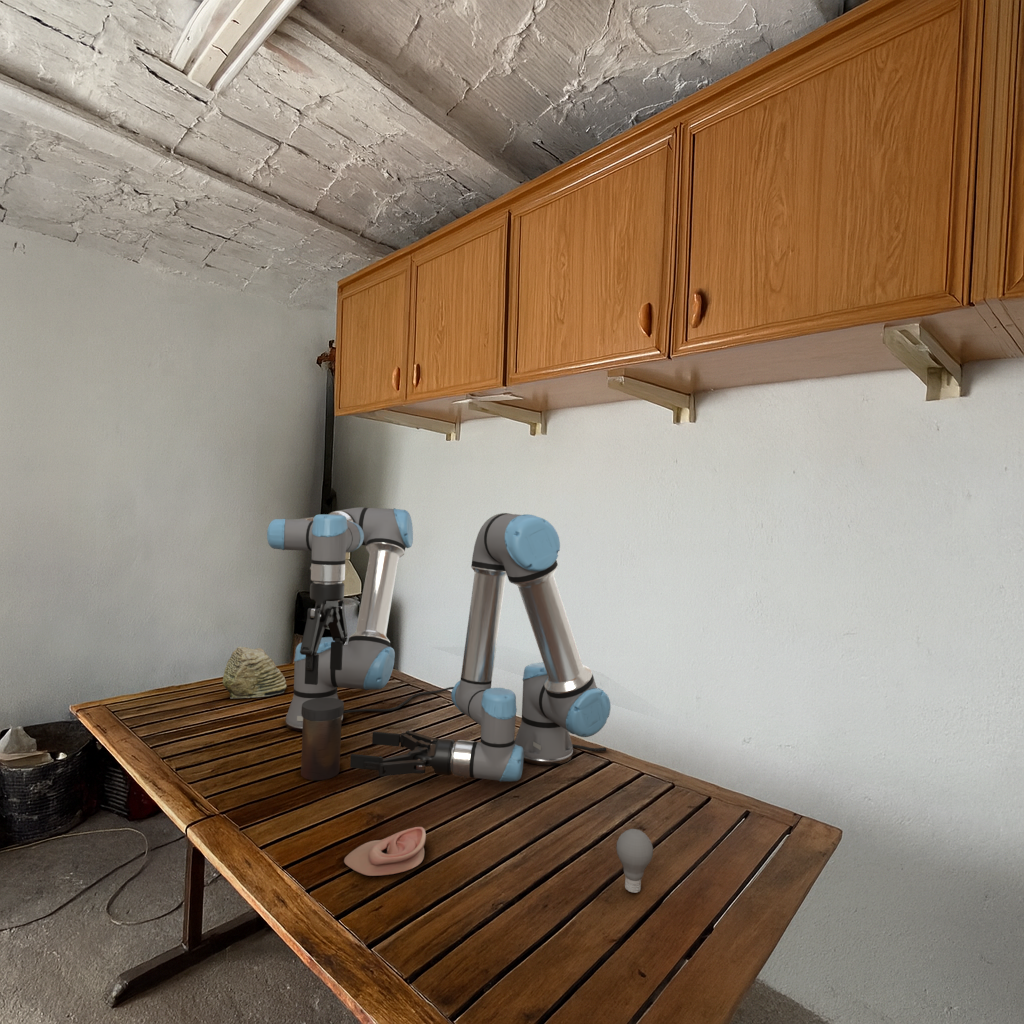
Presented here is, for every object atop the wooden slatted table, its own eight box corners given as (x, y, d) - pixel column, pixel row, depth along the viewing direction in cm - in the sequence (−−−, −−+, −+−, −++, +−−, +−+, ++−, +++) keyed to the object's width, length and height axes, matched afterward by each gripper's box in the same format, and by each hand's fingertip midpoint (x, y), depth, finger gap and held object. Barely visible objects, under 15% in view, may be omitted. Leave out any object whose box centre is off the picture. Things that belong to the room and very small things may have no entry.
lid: (350, 716, 145) (350, 706, 145) (310, 723, 139) (311, 713, 139) (333, 704, 152) (333, 695, 152) (295, 711, 146) (295, 701, 146)
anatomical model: (336, 847, 108) (365, 815, 119) (335, 870, 108) (364, 836, 119) (410, 859, 105) (432, 825, 116) (409, 883, 105) (431, 846, 116)
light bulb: (610, 879, 108) (613, 822, 108) (644, 879, 109) (647, 822, 109) (619, 902, 102) (622, 840, 102) (655, 901, 103) (658, 840, 103)
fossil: (218, 695, 195) (220, 647, 195) (278, 685, 208) (279, 640, 207) (228, 703, 189) (230, 653, 188) (289, 692, 201) (290, 645, 201)
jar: (345, 774, 145) (348, 707, 145) (309, 783, 140) (311, 714, 139) (330, 761, 151) (333, 697, 151) (295, 769, 146) (297, 703, 146)
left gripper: (335, 575, 157) (331, 662, 158) (285, 587, 133) (281, 689, 134) (363, 577, 156) (360, 664, 156) (318, 590, 132) (314, 693, 133)
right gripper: (439, 800, 129) (339, 789, 132) (464, 752, 154) (380, 744, 156) (441, 763, 129) (341, 753, 131) (465, 721, 153) (381, 714, 156)
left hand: (324, 676), depth 145 cm, fingers open, 12 cm apart
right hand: (362, 748), depth 144 cm, fingers open, 13 cm apart
